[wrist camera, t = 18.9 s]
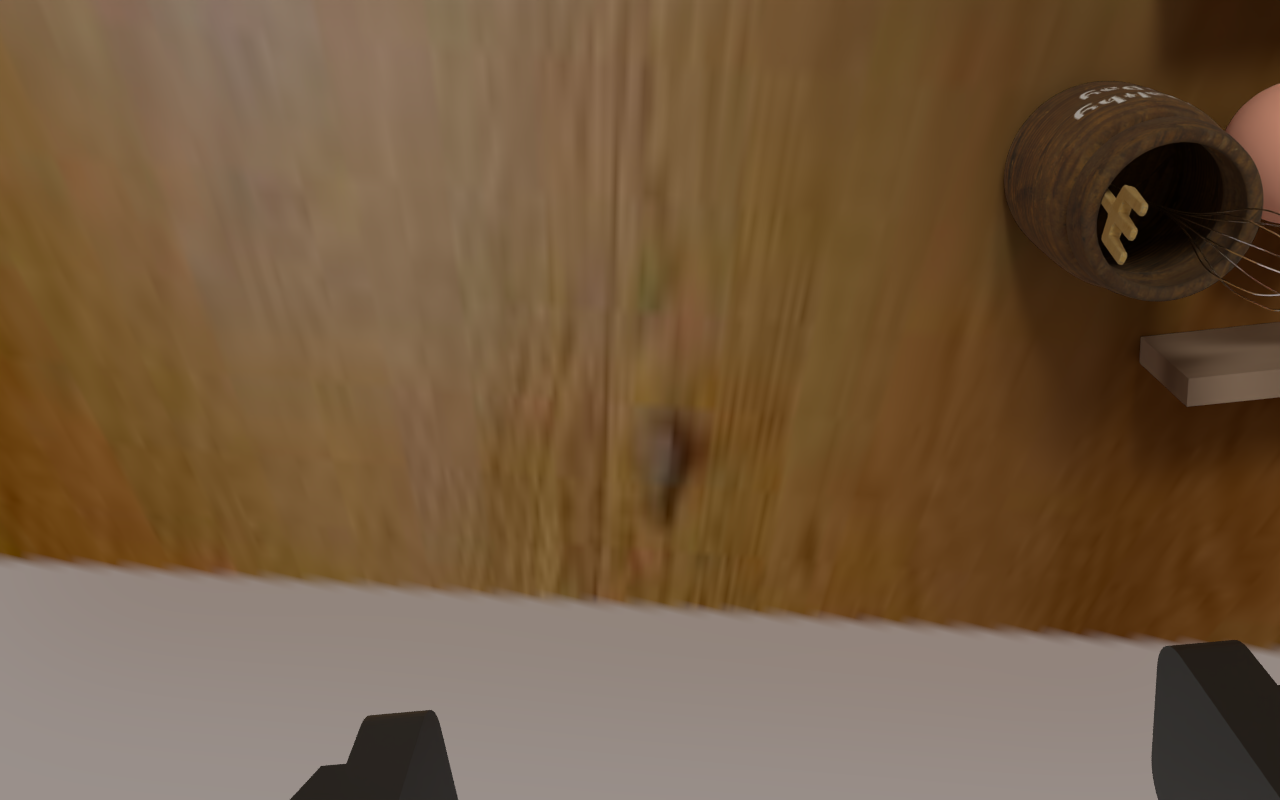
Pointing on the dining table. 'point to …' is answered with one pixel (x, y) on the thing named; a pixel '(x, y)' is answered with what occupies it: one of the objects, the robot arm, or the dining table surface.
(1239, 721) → the robot arm
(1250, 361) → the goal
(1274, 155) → the ball
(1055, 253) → the utensil holder
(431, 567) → the dining table surface
